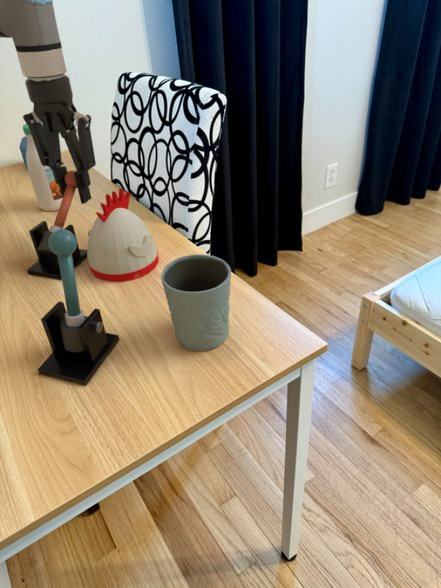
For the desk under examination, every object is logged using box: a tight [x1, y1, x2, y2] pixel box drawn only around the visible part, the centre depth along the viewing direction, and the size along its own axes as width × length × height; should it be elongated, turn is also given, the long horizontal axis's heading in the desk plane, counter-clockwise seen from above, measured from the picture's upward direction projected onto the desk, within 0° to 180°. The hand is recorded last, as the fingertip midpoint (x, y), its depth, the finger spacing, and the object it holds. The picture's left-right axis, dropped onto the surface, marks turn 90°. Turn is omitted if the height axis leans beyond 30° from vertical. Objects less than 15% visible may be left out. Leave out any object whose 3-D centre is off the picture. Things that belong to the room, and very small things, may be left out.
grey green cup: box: [160, 253, 232, 352], centre depth 66 cm, size 10×10×12 cm
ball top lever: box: [48, 228, 88, 352], centre depth 61 cm, size 18×4×4 cm
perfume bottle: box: [19, 123, 28, 168], centre depth 131 cm, size 6×6×12 cm
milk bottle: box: [22, 123, 63, 212], centre depth 105 cm, size 8×8×20 cm
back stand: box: [26, 220, 87, 281], centre depth 85 cm, size 10×8×8 cm
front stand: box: [37, 300, 120, 386], centre depth 64 cm, size 10×8×8 cm
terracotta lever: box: [38, 169, 78, 258], centre depth 86 cm, size 18×4×4 cm
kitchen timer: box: [86, 188, 159, 283], centre depth 83 cm, size 14×14×15 cm
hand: (77, 199), depth 90 cm, fingers closed on terracotta lever, 4 cm apart
